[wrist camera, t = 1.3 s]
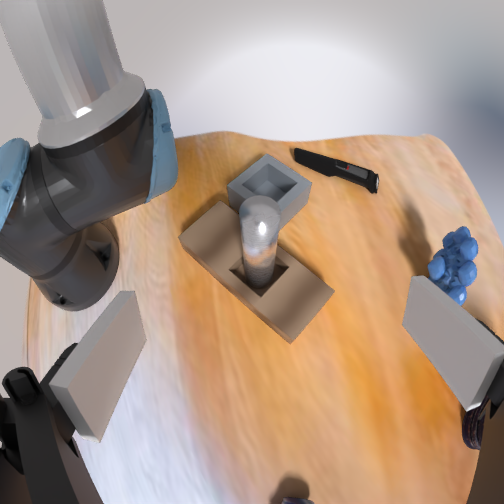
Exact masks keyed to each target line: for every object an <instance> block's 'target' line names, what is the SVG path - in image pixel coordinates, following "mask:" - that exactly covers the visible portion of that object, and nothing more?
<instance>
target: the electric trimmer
mask: <svg viewBox="0 0 504 504" xmlns="http://www.w3.org/2000/svg"><path fill="white" fill-rule="evenodd" d="M294 155H295V160H296V162H297V163H299V164H302V165H304V166H306V167H308V168H310V169H313V170H315V171H317V172H319V173H321V174H324V175H326V176H329V177H330V176H338V177H340V178H343V179H346V180H348V181H351V182H353V183H356V184H359V185H361V186H364V187H366V188H368V189H369V190H370V192H371V193H372V194H373V193H374V192H375V193H377V190H378V184H379V176H378V174H375V173H374V172H373V171H372V170H368V169H365V168H362V167H359V166H356V165H353V164H350V163H347V162H344V161H341V160H337V159H333V158H329V157H326V156H323V155H320V154H316V153H313V152H309V151H306V150H302V149H299V148H295V150H294Z"/></svg>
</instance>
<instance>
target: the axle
mask: <svg viewBox="0 0 504 504" xmlns="http://www.w3.org/2000/svg"><path fill="white" fill-rule="evenodd" d="M280 216H281V210H280V207H279V205H278V203H277V202H276V201H275V200H273V199H272V198H270V197H267V196H262V195H258V196H253V197H250V198H248V199H246V200H245V201H244V202H243V203H242V205H241V206H240V210H239V217H240V227H241V238H242V248H243V258H244V268H245V278H246V281H247V283H248V284H249V285H250V286H252V287H254V288H264V287H266V286H268V285H269V284H270V283H271V281H272V278H273V270H274V263H275V255H276V248H277V240H278V232H279V224H280Z"/></svg>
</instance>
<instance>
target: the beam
mask: <svg viewBox="0 0 504 504" xmlns="http://www.w3.org/2000/svg"><path fill="white" fill-rule="evenodd" d="M178 238H179V240H180V242H181V245H182V247H183V249H184V250H185V251H187V252H188V253H189V254H190V255H191V256H192V257H193V258H194V259H195V260H196V261H197V262H198V263H199V264H200V265H201V266H203V267H204V268H205V269H206V270H207V271H208V272H209V273H210V274H211V275H212V276H213V277H214V278H216V279H217V280H218V281H219V282H220V283H221V284H222V285H223V286H224V287H225V288H227V289H228V290H229V291H230V292H231V293H232V294H233V295H234V296H235V297H237V298H238V299H239V300H240V301H241V302H242V303H243V304H244V305H245V306H247V307H248V308H249V309H250V310H251V311H252V312H253V313H255V314H256V315H257V316H258V317H259V318H260V319H261V320H263V321H264V322H265V323H266V324H267V325H268V326H269V327H271V328H272V329H273V330H274V331H275V332H276V333H278V334H279V335H280V336H281V337H282V338H283V339H285V340H286V341H287V342H288V343H289V344H291V343H292V342H293V341H294V340H295V339H296V337H297V336H298V335H299V334H300V333H301V332H302V331H303V329H304V328H305V327H306V326H307V325H308V324H309V322H310V321H311V320H312V319H313V318H314V317H315V315H316V314H317V313H318V312H319V311H320V309H321V308H322V307H323V306H324V305H325V303H326V302H327V301H328V300H329V298H330V297H331V296H332V294H333V293H334V292H335V291H334V290H333V289H332V288H331V287H329V286H328V285H327V284H326V283H325V282H323V281H322V280H321V279H320V278H318V277H317V276H316V275H315V274H313V273H312V272H311V271H310V270H308V269H307V268H306V267H305V266H303V265H302V264H301V263H300V262H298V261H297V260H296V259H295V258H293V257H292V256H291V255H290V254H288V253H287V252H286V251H285V250H283V249H282V248H281V247H280V246H278V245H277V248H276V255H275V263H274V270H273V278H272V281H271V283H270V284H269V285H268V286H266V287H264V288H254V287H252V286H250V285H249V284H248V283H247V281H246V278H245V268H244V258H243V248H242V238H241V227H240V217H239V214H238V213H236V212H235V211H234V210H232V209H231V208H230V207H229V206H227V205H226V204H225V203H223V202H222V201H221V200H220V201H219V202H217V203H216V204H215V205H214V206H213V207H212V208H210V209H209V210H208V211H207V212H206V213H205V214H203V215H202V216H201V217H200V218H199V219H198V220H197V221H195V222H194V223H193V224H192V225H191V226H190V227H189V228H187V229H186V230H185V231H184V232H183V233H182V234H181V235H180V236H179V237H178Z"/></svg>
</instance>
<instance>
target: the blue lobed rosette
mask: <svg viewBox="0 0 504 504" xmlns="http://www.w3.org/2000/svg"><path fill="white" fill-rule="evenodd" d="M443 247H444V249H441V250H439V251H438V252H437V253H436V254H435V255H434V257H433V260H432V261H431V262H430V263H429V264H428V271H429V275H430V276H429V278H428V279H429V280H430V281H431V282H432V283H434V284H435V285H436V286H437V287H439V288H440V289H441V290H442V291H443V292H445V293H446V294H447V295H448V296H449V297H451V298H452V299H453V300H454V301H455V302H457V303H458V304H459V305H460V306H461V305H462V304H463V303H464V302H465V300H466V298H467V292H466V288H465V286H466V287H467V286H469V285H471V284H472V283H473V282H474V280H475V278H476V276H477V268H476V265H475V264H474V262H473V261H472V260H473V259H474V258H475V257H476V256H477V254H478V244H477V241H476V240H475V239H474V238H472V237H471V234H470V231H469V229H468V228H467V227H465V226H462V227H460V228H458V229H457V230H456V231H455V232H450V233H448V234H447V235H446V236H445V237H444V239H443Z"/></svg>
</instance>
